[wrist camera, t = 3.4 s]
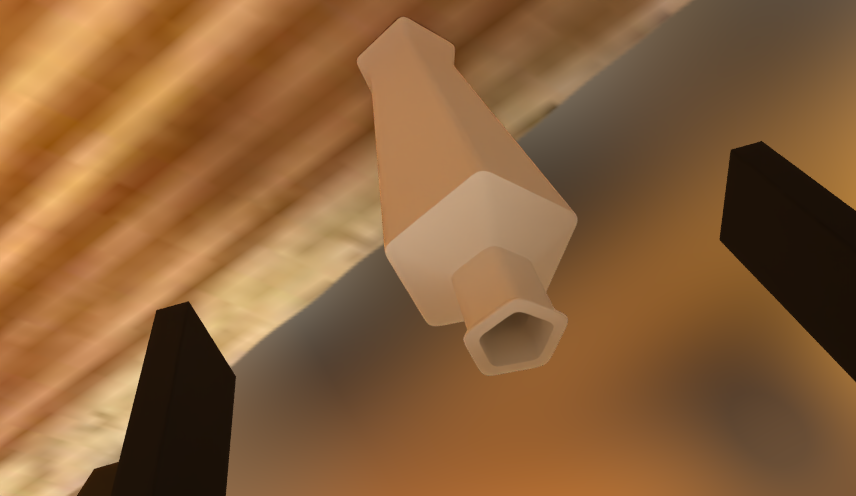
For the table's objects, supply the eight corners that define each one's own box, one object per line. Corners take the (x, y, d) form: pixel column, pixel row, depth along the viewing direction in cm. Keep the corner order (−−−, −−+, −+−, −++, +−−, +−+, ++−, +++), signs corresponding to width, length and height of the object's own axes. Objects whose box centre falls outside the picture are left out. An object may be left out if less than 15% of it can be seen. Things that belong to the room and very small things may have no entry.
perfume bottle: (327, 94, 24) (361, 388, 12) (381, -8, 22) (480, 228, 11) (424, 141, 26) (532, 432, 14) (482, 51, 24) (659, 305, 13)
